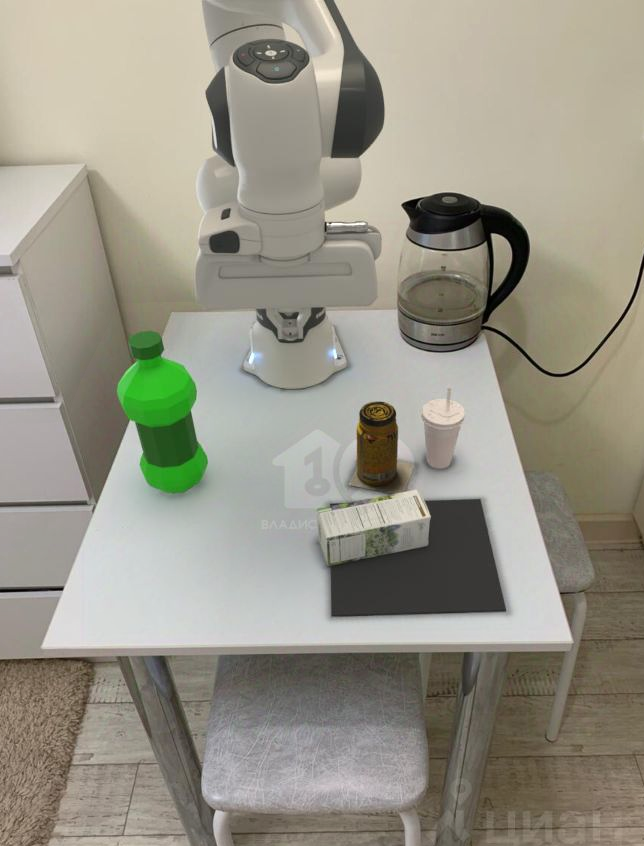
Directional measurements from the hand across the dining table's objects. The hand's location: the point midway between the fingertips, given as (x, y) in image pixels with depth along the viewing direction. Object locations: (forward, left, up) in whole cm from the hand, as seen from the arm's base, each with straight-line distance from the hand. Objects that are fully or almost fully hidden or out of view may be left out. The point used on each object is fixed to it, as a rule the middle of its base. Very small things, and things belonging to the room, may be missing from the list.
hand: (290, 336), depth 85 cm
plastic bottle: (-7, -19, -29) cm, 36 cm away
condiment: (-7, +12, -29) cm, 32 cm away
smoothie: (-10, +21, -29) cm, 37 cm away
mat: (+9, +15, -29) cm, 34 cm away
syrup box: (+9, +2, -26) cm, 27 cm away
